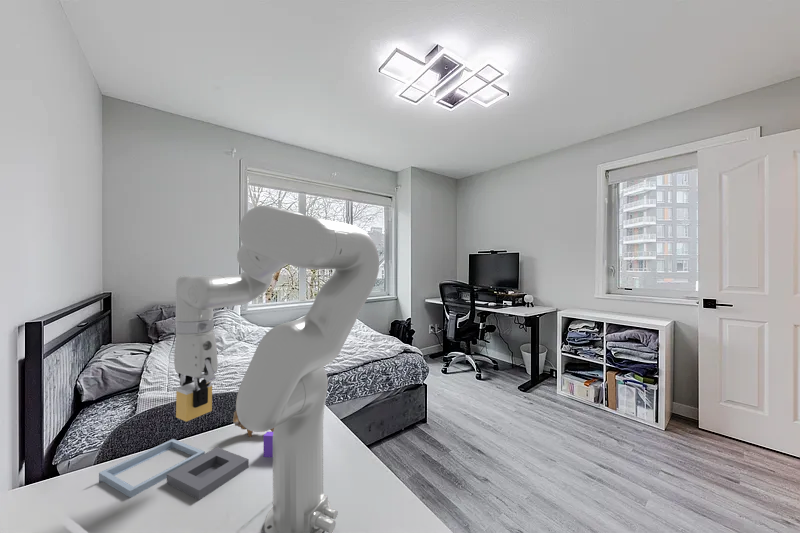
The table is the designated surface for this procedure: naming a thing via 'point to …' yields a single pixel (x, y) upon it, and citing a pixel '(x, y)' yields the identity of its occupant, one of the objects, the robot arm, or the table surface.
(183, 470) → the block
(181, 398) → the block
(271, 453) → the purple rectangular block
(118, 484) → the tray
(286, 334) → the robot arm
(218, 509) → the table surface
